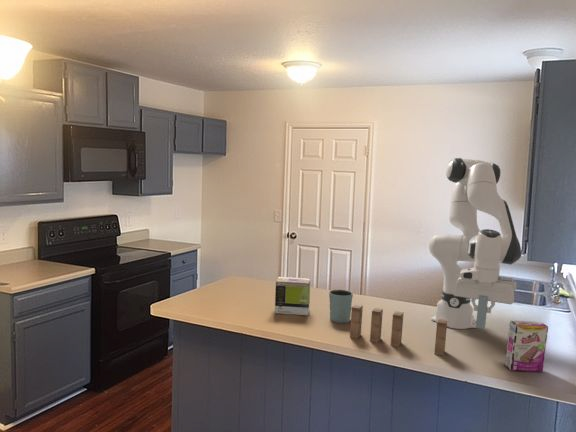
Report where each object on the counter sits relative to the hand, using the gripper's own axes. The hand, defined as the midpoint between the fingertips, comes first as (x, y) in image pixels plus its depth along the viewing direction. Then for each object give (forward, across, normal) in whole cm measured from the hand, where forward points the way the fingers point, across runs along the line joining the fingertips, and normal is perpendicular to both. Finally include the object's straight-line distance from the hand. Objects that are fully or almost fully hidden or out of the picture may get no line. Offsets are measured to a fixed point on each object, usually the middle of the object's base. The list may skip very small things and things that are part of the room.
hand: (482, 311), depth 179 cm
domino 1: (+16, +45, +8) cm, 48 cm away
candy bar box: (+16, -15, +8) cm, 23 cm away
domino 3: (+16, +29, +8) cm, 34 cm away
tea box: (+17, +79, -7) cm, 81 cm away
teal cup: (+16, +57, -8) cm, 60 cm away
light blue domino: (+6, 0, 0) cm, 6 cm away
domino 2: (+16, +37, +8) cm, 41 cm away
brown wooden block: (+16, +13, +8) cm, 22 cm away
